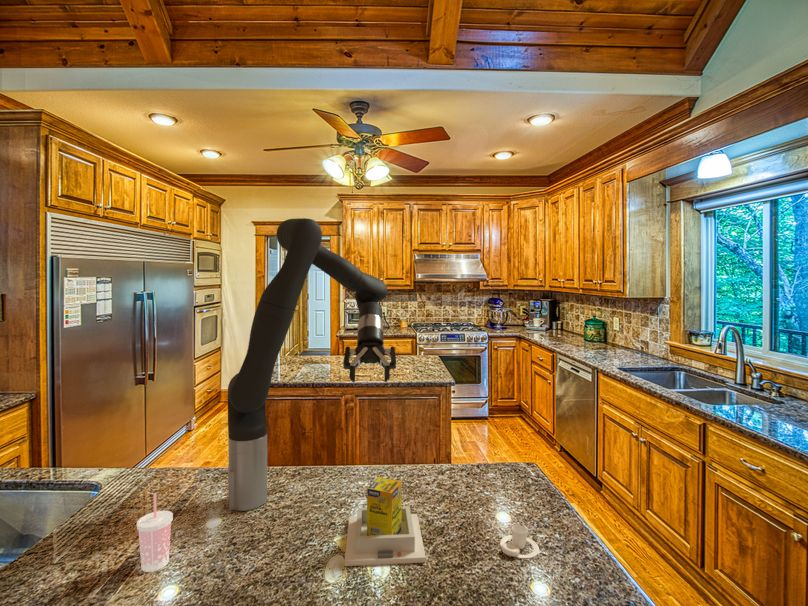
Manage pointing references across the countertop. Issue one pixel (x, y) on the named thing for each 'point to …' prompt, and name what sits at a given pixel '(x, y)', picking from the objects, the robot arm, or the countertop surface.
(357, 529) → the socket base
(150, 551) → the beverage cup
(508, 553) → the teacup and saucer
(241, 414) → the robot arm
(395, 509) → the supplement box
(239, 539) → the countertop surface
